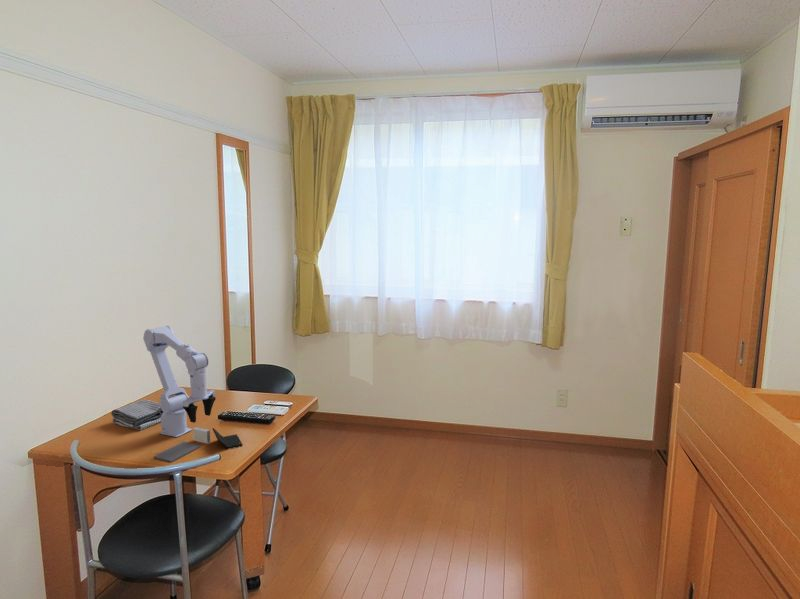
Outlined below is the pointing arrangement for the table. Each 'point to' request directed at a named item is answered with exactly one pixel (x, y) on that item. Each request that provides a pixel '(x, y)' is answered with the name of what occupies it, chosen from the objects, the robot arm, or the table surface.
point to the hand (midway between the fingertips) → (200, 418)
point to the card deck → (201, 435)
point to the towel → (138, 414)
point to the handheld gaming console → (228, 440)
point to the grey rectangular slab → (177, 451)
